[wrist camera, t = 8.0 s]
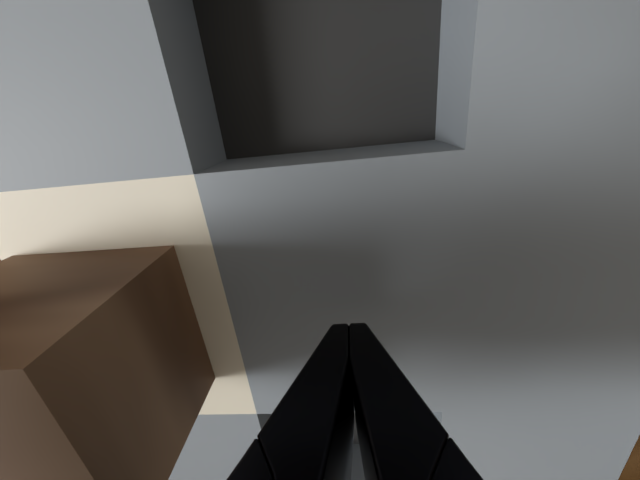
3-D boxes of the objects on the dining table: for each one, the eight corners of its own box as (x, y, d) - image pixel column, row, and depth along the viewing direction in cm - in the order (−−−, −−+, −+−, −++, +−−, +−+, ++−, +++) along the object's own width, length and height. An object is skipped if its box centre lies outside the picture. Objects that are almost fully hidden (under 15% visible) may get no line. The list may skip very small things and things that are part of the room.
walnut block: (173, 245, 8) (23, 368, 4) (215, 377, 10) (137, 546, 6) (12, 255, 8) (-257, 376, 4) (81, 380, 10) (-70, 539, 6)
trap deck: (772, -225, 6) (1063, -449, 3) (554, 451, 14) (597, 520, 11) (-58, -69, 7) (-234, -147, 5) (175, 451, 15) (146, 511, 13)
